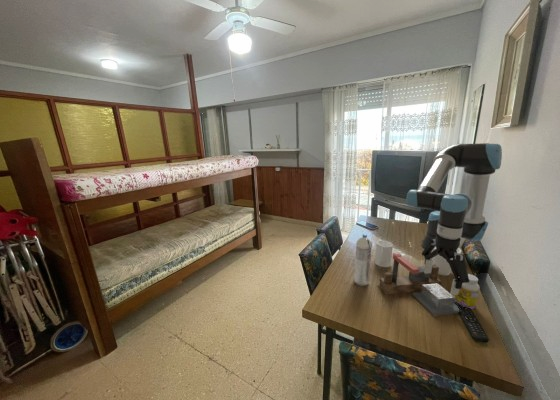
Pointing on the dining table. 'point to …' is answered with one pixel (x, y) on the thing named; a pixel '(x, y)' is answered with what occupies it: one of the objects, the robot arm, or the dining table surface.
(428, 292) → the light grey block
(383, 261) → the mug
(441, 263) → the cup
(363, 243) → the water bottle
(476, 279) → the supplement bottle
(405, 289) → the brown wooden stand
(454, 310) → the mat
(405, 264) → the lever
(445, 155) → the robot arm
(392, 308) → the dining table surface
